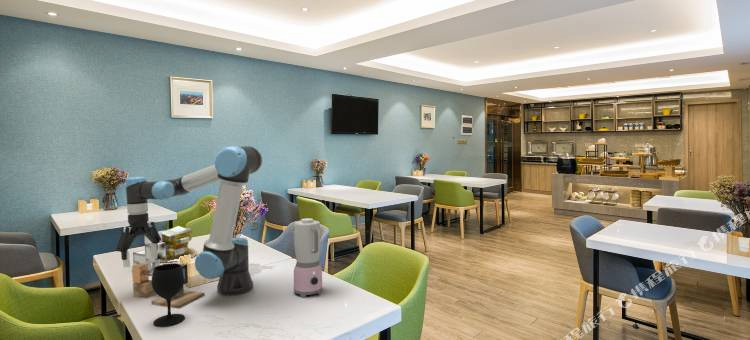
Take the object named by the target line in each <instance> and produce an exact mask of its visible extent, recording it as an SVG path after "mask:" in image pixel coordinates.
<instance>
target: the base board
mask: <svg viewBox="0 0 750 340" xmlns="http://www.w3.org/2000/svg"><path fill="white" fill-rule="evenodd" d="M205 293H206V292H203V291H193V290H185V289H184V296H183V297H181V298H179V299H177V298H174V297H173V298H172V299H171V306H170V307H171V308H175V309H182V308H183V307H185V306H187V305H189V304H191V303H193V302H194V301H196V300H199V299H200V298H202V297H203V298H204V297H205V296H206V295H205ZM151 305H154V306H160V307H167V301H166V299H164V298H162V297H160V296H159V297H158V298H156V299H154V300H152V301H151Z"/></svg>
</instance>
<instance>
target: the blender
mask: <svg viewBox="0 0 750 340" xmlns="http://www.w3.org/2000/svg"><path fill="white" fill-rule="evenodd" d="M293 225H294V227H293V244H294V245H293V246H294V252H295V253H294V254H295V258H296V264H295V266H294V268H293V292H294V293H295V294H297V295H300V297H301V298H306V297H307V295H314V294H317V295H318V294H319V295H321V294H322V291H323V269H322V266H321V265H322V264H320V263H321V262H320V261H319V260H320V253H321V245H322V244H321V243H322V241H321V239H322V238H321V236H322V235H321V223H320V221H319V220H314V219H313V218H312V217H311V218H301V219H300V220H299V221H296V222H294V224H293ZM320 293H321V294H320Z"/></svg>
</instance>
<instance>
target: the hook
mask: <svg viewBox="0 0 750 340" xmlns="http://www.w3.org/2000/svg"><path fill="white" fill-rule="evenodd" d="M131 272H132V273H131V275H132V283H134V282H135V283H142V282H144V281H147V280H150V277H152V274H153V270H152V269H151V270H148V264H144V263H140V264H137V265H132V266H131Z"/></svg>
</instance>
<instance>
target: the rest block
mask: <svg viewBox="0 0 750 340" xmlns="http://www.w3.org/2000/svg"><path fill="white" fill-rule="evenodd" d="M132 288H133V289H132V291H133V297H134V296H135V297H134V298H142V299H148V298H150V297H153V296H156V295H157V294H156V293H155V292H154V290H153V288H152V279H149V280H147V281H144V282H142V283H135V282H132Z"/></svg>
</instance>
